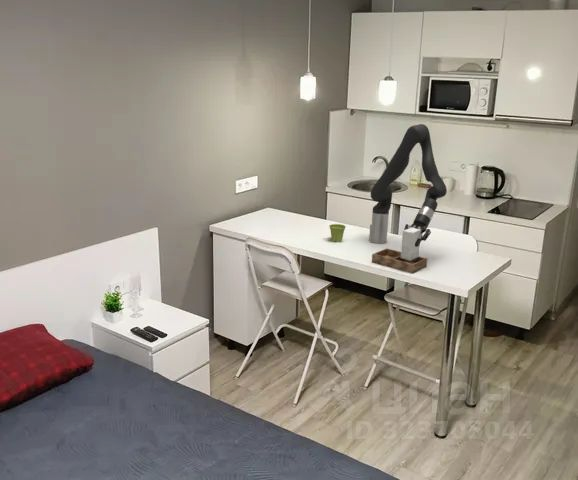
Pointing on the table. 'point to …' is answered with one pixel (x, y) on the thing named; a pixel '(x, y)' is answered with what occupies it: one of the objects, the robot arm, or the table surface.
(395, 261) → the divided wooden tray
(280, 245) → the table surface
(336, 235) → the plant pot
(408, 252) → the skincare box
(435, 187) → the robot arm
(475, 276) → the table surface
